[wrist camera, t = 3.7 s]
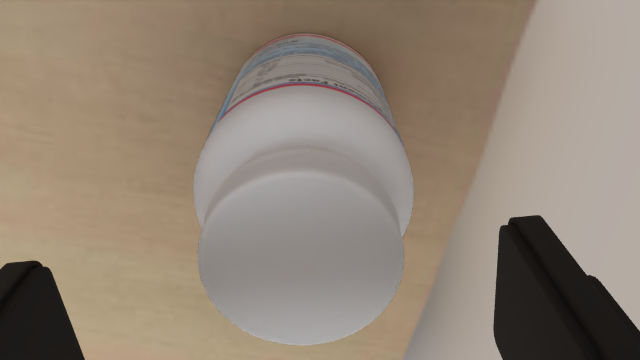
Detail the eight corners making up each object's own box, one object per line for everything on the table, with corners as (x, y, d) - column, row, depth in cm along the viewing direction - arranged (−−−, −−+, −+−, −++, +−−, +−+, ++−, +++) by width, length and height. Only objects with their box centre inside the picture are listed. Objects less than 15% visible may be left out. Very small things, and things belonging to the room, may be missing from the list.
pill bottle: (328, 196, 24) (336, 406, 14) (206, 124, 22) (114, 300, 12) (414, 84, 22) (498, 237, 12) (284, -4, 20) (250, 82, 10)
